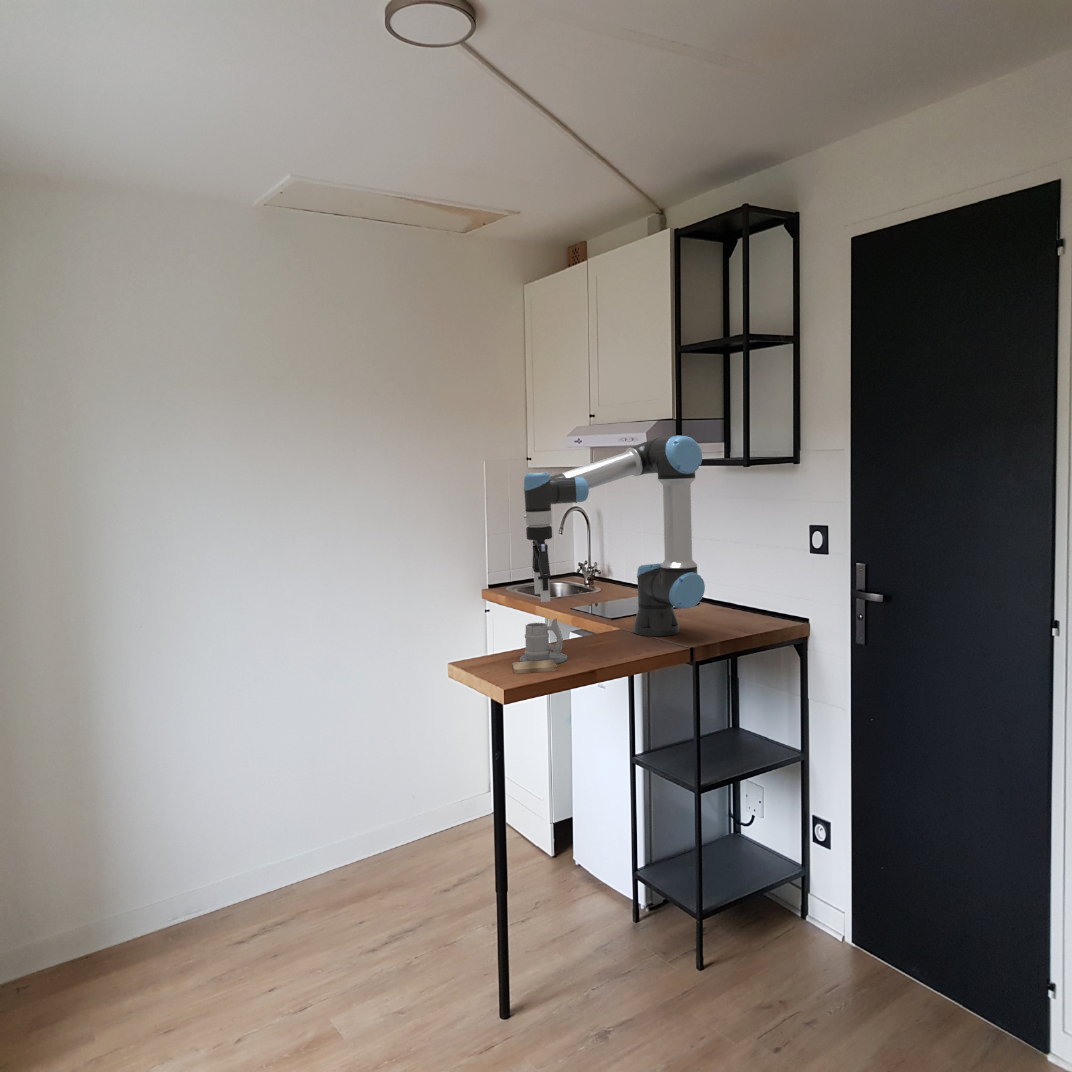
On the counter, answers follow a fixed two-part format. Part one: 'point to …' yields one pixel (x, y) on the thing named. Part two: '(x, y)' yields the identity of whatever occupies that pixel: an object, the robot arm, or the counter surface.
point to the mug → (541, 640)
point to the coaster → (552, 656)
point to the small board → (534, 666)
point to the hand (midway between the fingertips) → (542, 597)
